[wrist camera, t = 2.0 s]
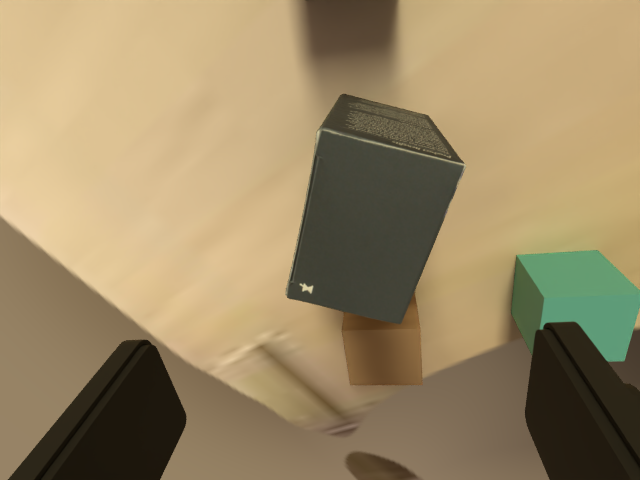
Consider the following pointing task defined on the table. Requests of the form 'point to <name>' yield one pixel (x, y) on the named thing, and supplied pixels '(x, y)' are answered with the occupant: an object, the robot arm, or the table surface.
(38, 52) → the table surface
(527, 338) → the teal cube
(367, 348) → the walnut cube
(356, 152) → the box
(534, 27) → the table surface
